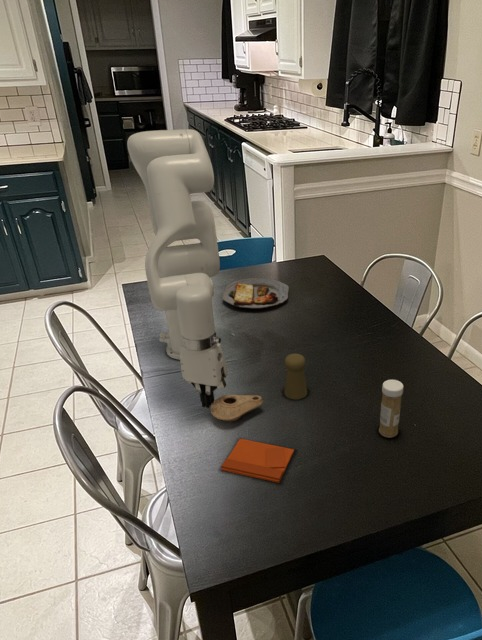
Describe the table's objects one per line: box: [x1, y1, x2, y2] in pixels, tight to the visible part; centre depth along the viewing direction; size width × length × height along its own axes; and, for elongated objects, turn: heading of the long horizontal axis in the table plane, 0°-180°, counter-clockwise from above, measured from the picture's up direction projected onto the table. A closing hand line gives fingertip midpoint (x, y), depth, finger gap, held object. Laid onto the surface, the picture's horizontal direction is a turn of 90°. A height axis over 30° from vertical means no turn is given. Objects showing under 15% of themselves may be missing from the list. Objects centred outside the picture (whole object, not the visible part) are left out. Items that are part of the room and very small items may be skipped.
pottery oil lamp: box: [210, 394, 264, 422], centre depth 121 cm, size 9×12×7 cm
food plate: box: [221, 277, 290, 310], centre depth 180 cm, size 25×23×4 cm
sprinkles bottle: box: [378, 379, 404, 439], centre depth 113 cm, size 5×5×13 cm
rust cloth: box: [220, 438, 295, 484], centre depth 109 cm, size 13×10×1 cm
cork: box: [283, 353, 308, 400], centre depth 127 cm, size 6×6×11 cm
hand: (208, 404), depth 123 cm, fingers closed
